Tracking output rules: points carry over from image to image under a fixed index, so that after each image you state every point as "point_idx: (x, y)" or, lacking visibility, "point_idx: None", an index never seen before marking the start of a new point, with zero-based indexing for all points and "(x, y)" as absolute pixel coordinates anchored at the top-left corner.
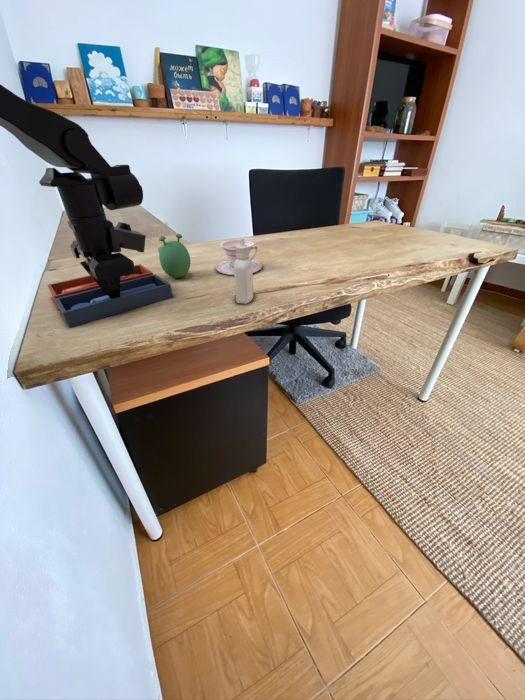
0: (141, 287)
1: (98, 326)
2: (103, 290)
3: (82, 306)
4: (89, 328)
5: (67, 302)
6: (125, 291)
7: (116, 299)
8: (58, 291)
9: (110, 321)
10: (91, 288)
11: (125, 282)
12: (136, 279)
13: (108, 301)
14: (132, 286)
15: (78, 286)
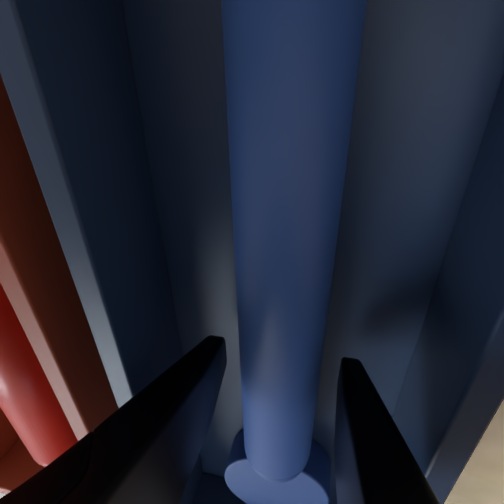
0: (302, 133)
1: (488, 474)
2: (204, 437)
3: (276, 488)
4: (464, 494)
5: (186, 495)
6: (286, 314)
7: (465, 462)
8: (10, 433)
9: (494, 430)
10: (94, 426)
11: (88, 248)
12: (35, 101)
13: (442, 498)
14: (113, 165)
15: (19, 427)
